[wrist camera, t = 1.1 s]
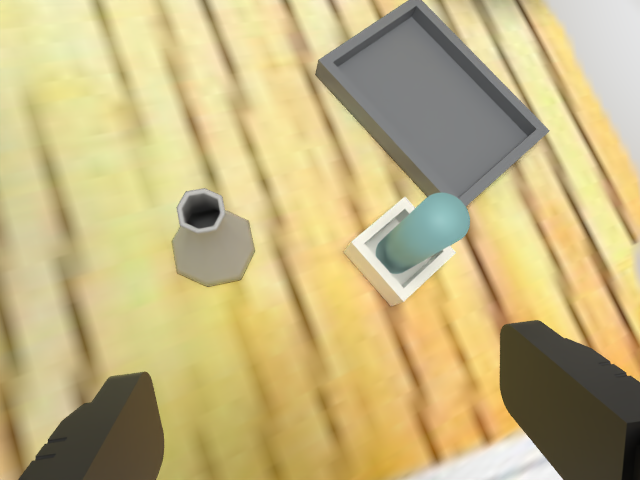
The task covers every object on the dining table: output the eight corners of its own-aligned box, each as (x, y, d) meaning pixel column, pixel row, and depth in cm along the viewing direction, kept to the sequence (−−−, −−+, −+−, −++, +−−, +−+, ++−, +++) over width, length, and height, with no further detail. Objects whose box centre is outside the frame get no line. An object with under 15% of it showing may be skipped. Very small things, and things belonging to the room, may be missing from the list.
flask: (179, 203, 39) (155, 153, 30) (259, 213, 40) (261, 167, 30) (165, 282, 37) (134, 256, 28) (250, 291, 38) (248, 269, 28)
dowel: (367, 251, 40) (408, 213, 29) (395, 228, 41) (444, 182, 30) (394, 281, 39) (445, 254, 29) (421, 257, 40) (480, 221, 30)
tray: (315, 74, 45) (318, 59, 42) (409, 11, 49) (416, -5, 46) (448, 219, 43) (459, 212, 40) (535, 141, 46) (549, 130, 44)
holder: (342, 251, 40) (350, 242, 37) (392, 209, 42) (404, 196, 39) (390, 306, 39) (403, 301, 36) (439, 261, 41) (455, 252, 38)
